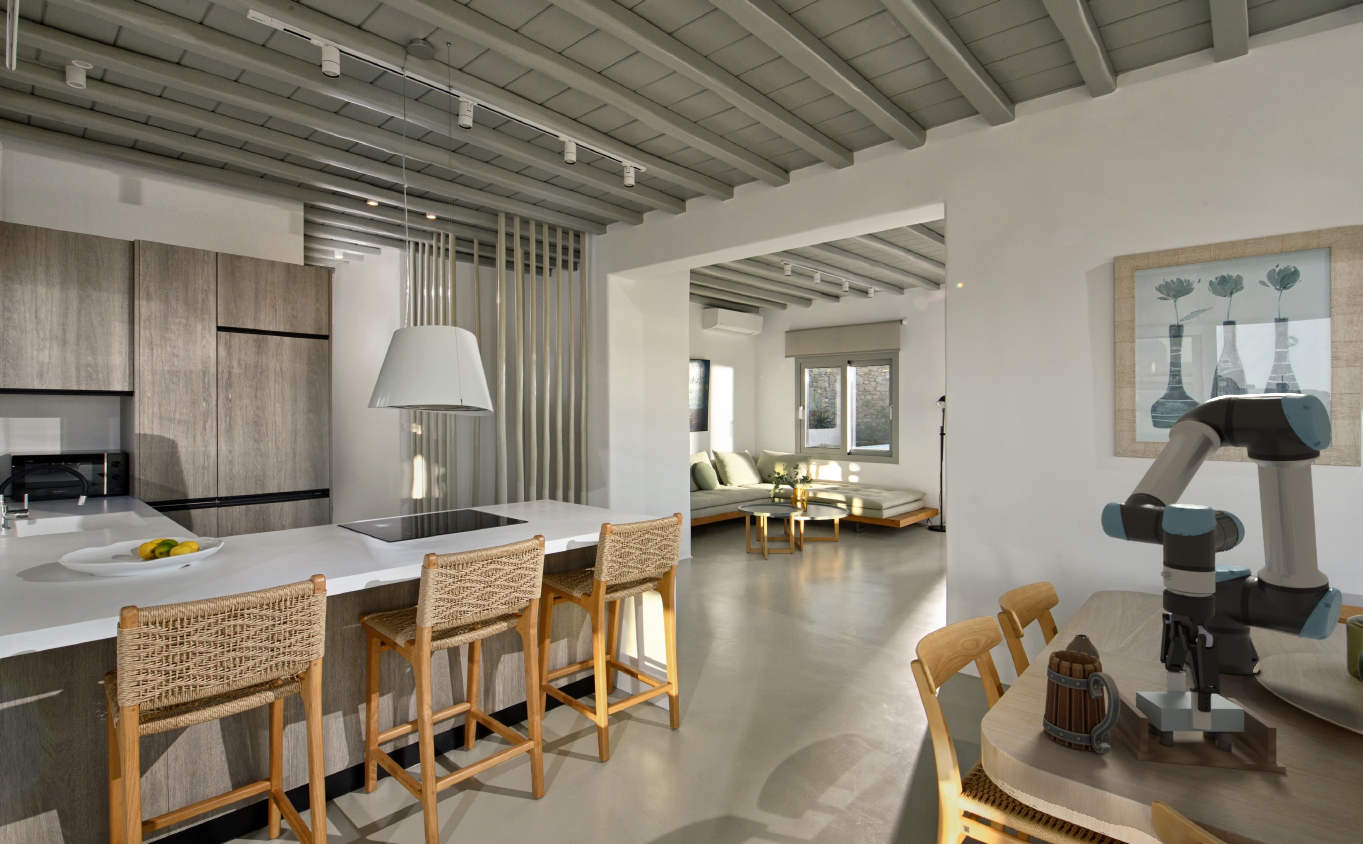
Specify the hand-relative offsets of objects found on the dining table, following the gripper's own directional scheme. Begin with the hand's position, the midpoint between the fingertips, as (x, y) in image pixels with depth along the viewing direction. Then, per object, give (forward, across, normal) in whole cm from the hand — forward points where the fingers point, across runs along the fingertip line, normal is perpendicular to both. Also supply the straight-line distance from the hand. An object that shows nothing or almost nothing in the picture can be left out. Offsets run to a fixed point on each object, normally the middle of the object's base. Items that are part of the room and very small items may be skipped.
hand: (1188, 717), depth 120 cm
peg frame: (+5, 0, 0) cm, 5 cm away
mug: (+6, +3, -18) cm, 19 cm away
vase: (+5, -33, -6) cm, 34 cm away
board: (+1, 0, 0) cm, 1 cm away
